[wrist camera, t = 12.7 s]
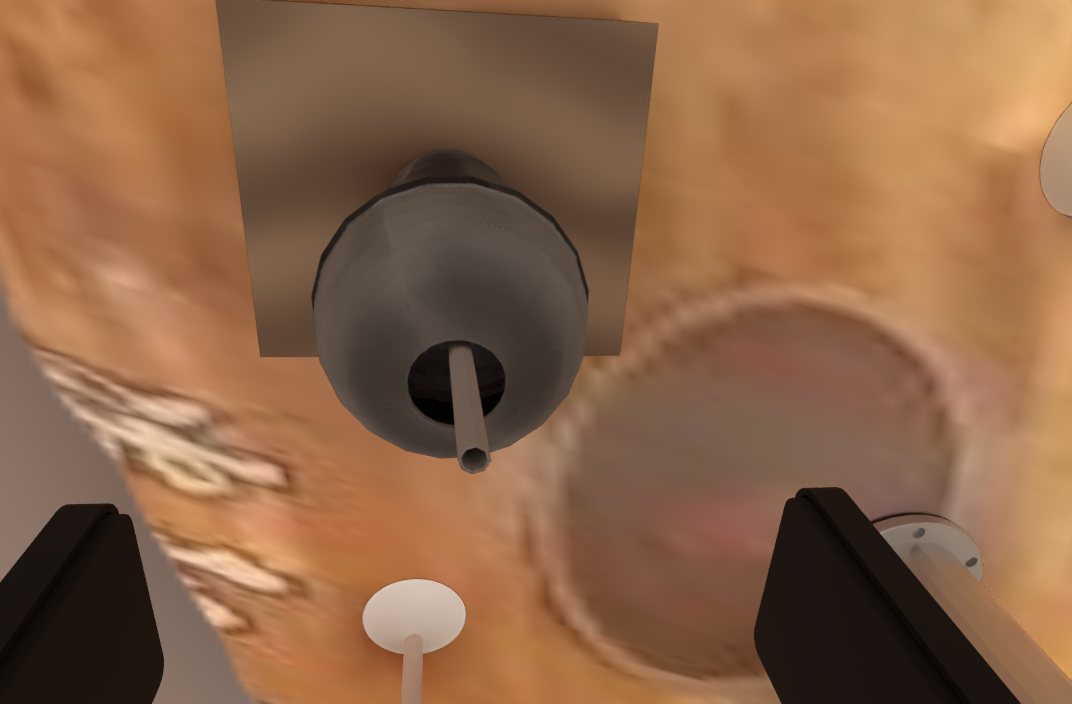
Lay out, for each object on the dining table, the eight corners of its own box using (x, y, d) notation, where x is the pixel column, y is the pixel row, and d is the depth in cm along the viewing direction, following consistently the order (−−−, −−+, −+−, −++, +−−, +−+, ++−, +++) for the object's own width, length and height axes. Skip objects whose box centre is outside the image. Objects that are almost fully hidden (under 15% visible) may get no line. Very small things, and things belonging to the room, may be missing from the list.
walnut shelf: (594, 306, 38) (620, 355, 33) (287, 304, 36) (260, 356, 31) (622, 20, 32) (658, 23, 27) (255, -2, 30) (214, -3, 25)
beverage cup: (350, 277, 30) (218, 681, 12) (364, 96, 27) (216, 276, 9) (521, 299, 31) (629, 690, 13) (552, 128, 28) (746, 341, 10)
